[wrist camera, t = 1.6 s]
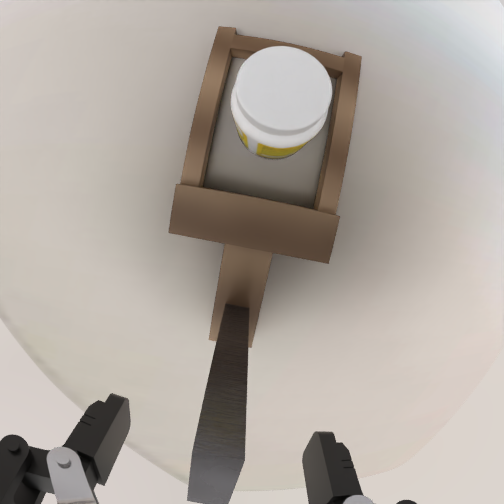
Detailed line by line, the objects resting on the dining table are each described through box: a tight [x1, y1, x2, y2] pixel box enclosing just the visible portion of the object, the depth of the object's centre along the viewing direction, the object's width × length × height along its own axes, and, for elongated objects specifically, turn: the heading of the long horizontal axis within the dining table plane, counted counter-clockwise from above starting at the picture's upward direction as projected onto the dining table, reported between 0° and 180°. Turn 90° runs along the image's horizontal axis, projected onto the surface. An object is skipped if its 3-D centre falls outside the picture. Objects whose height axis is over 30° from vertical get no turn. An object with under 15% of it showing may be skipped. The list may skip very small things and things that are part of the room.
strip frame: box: [169, 26, 362, 504], centre depth 12 cm, size 23×10×14 cm, turn 169°
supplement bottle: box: [231, 46, 332, 160], centre depth 14 cm, size 5×5×8 cm
